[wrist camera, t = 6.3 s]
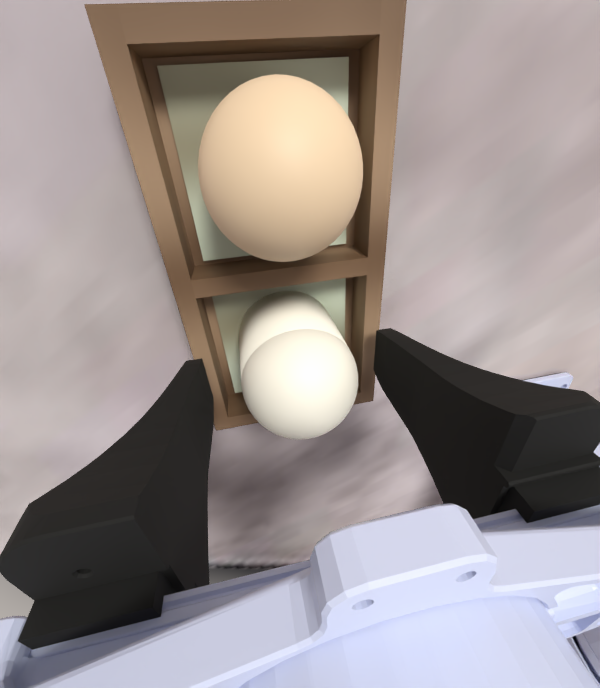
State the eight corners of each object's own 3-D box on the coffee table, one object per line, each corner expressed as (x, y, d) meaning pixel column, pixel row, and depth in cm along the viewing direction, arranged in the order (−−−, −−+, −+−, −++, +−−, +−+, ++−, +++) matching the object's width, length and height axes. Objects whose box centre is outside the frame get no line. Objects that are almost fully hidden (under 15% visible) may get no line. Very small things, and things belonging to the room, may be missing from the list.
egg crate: (358, 374, 18) (373, 400, 16) (217, 400, 17) (216, 430, 15) (374, 23, 10) (406, -4, 8) (112, 31, 9) (84, 4, 7)
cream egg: (332, 285, 14) (384, 356, 9) (330, 365, 16) (370, 453, 12) (232, 296, 13) (233, 378, 9) (245, 377, 16) (251, 475, 11)
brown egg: (326, 225, 12) (384, 273, 8) (220, 237, 12) (215, 296, 7) (324, 90, 10) (402, 48, 6) (192, 99, 10) (160, 59, 5)
